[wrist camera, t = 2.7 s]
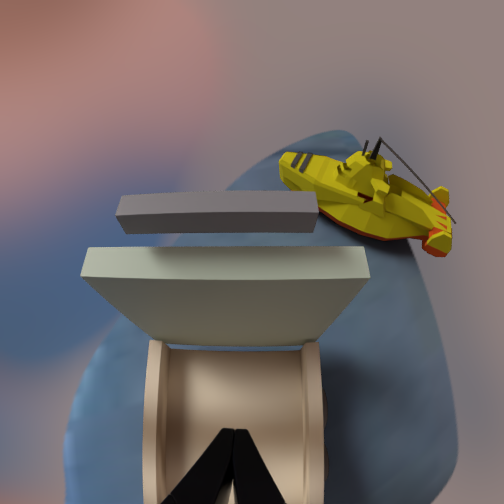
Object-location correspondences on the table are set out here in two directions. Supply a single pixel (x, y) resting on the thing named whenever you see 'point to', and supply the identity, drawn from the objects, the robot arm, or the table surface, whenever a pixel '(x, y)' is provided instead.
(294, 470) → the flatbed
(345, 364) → the table surface
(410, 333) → the table surface
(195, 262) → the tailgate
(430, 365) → the table surface
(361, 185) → the toy boat
